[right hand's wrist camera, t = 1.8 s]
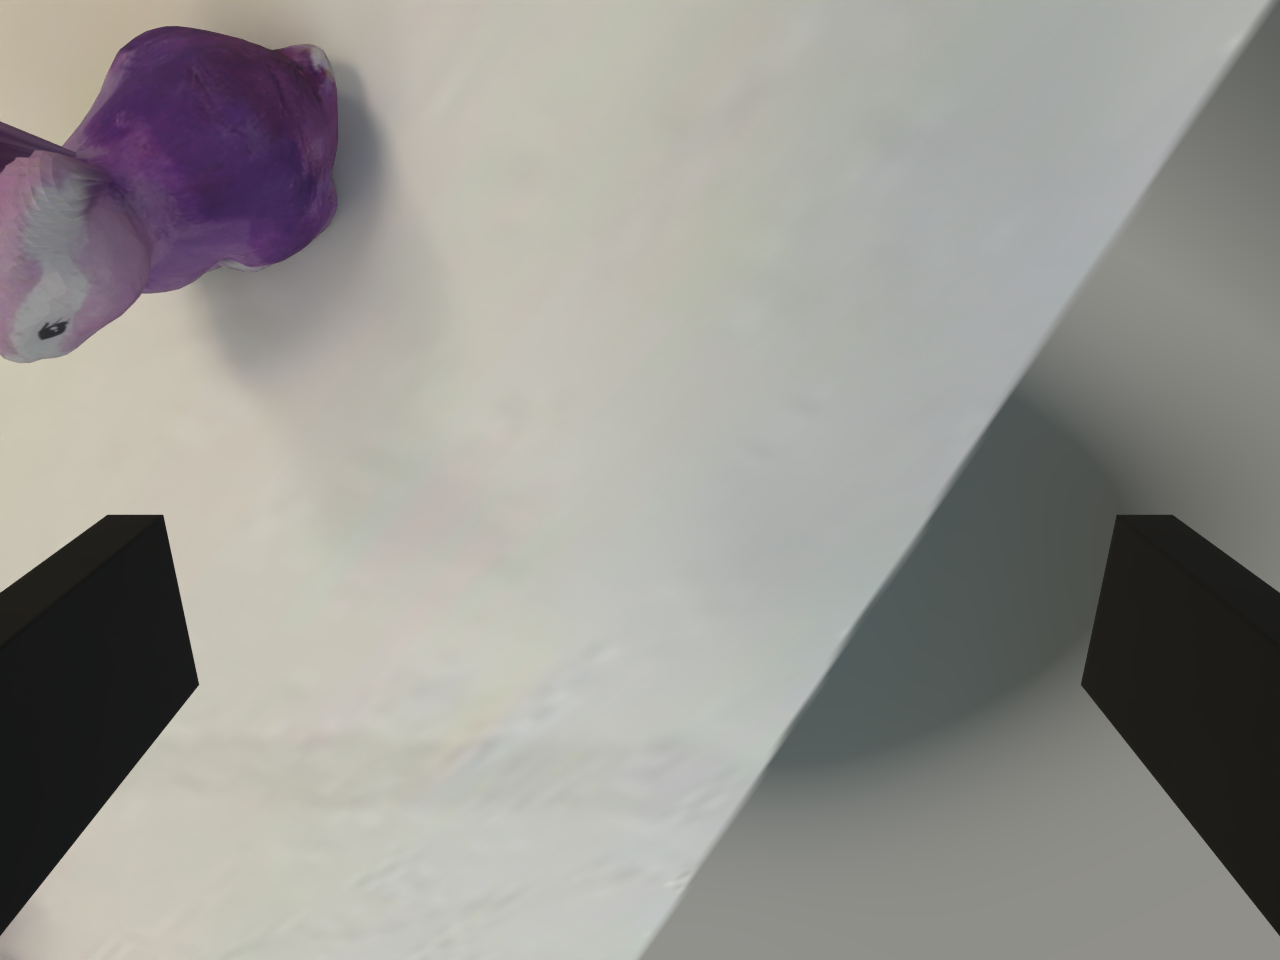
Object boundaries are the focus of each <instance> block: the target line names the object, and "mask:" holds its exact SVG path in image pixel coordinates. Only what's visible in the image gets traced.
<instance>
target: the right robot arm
mask: <svg viewBox="0 0 1280 960" xmlns="http://www.w3.org/2000/svg"><path fill="white" fill-rule="evenodd" d="M198 685H199V682H198V677H197V673H196V668H195V663H194V658H193V654H192V649H191V644H190V640H189V635H188V630H187V625H186V621H185V616H184V611H183V606H182V602H181V597H180V592H179V587H178V583H177V578H176V573H175V568H174V564H173V559H172V554H171V549H170V545H169V540H168V535H167V530H166V526H165V521H164V516H163V515H107V516H105V517H104V518H103V519H101V520H100V521H98V522H97V523H96V524H94V525H93V526H92V527H90V528H89V529H87V530H86V531H85V532H83V533H82V534H81V535H79V536H78V537H76V538H75V539H74V540H72V541H71V542H70V543H68V544H67V545H65V546H64V547H63V548H61V549H60V550H59V551H57V552H56V553H54V554H53V555H52V556H50V557H49V558H48V559H46V560H45V561H43V562H42V563H41V564H39V565H38V566H37V567H35V568H34V569H32V570H31V571H30V572H28V573H27V574H26V575H24V576H23V577H21V578H20V579H19V580H17V581H16V582H15V583H13V584H12V585H10V586H9V587H8V588H6V589H5V590H4V591H2V592H1V593H0V936H1V934H2V933H3V932H4V931H5V929H6V928H7V927H8V925H9V924H10V923H11V922H12V920H13V919H14V918H15V917H16V915H17V914H18V913H19V912H20V910H21V909H22V908H23V907H24V905H25V904H26V903H27V901H28V900H29V899H30V898H31V896H32V895H33V894H34V893H35V891H36V890H37V889H38V888H39V886H40V885H41V884H42V882H43V881H44V880H45V879H46V877H47V876H48V875H49V874H50V872H51V871H52V870H53V869H54V867H55V866H56V865H57V864H58V862H59V861H60V860H61V858H62V857H63V856H64V855H65V853H66V852H67V851H68V850H69V848H70V847H71V846H72V845H73V843H74V842H75V841H76V840H77V838H78V837H79V836H80V834H81V833H82V832H83V831H84V829H85V828H86V827H87V826H88V824H89V823H90V822H91V821H92V819H93V818H94V817H95V816H96V814H97V813H98V812H99V810H100V809H101V808H102V807H103V805H104V804H105V803H106V802H107V800H108V799H109V798H110V797H111V795H112V794H113V793H114V792H115V790H116V789H117V788H118V786H119V785H120V784H121V783H122V781H123V780H124V779H125V778H126V776H127V775H128V774H129V773H130V771H131V770H132V769H133V768H134V766H135V765H136V764H137V762H138V761H139V760H140V759H141V757H142V756H143V755H144V754H145V752H146V751H147V750H148V749H149V747H150V746H151V745H152V744H153V742H154V741H155V740H156V738H157V737H158V736H159V735H160V733H161V732H162V731H163V730H164V728H165V727H166V726H167V725H168V723H169V722H170V721H171V720H172V718H173V717H174V716H175V714H176V713H177V712H178V711H179V709H180V708H181V707H182V706H183V704H184V703H185V702H186V701H187V699H188V698H189V697H190V696H191V694H192V693H193V692H194V690H195V689H196V688H197V687H198ZM1081 685H1082V687H1083V688H1084V689H1085V690H1086V692H1087V693H1088V694H1089V695H1090V697H1091V698H1092V699H1093V701H1094V702H1095V703H1096V704H1097V706H1098V707H1099V708H1100V709H1101V711H1102V712H1103V713H1104V714H1105V716H1106V717H1107V718H1108V719H1109V721H1110V722H1111V723H1112V725H1113V726H1114V727H1115V728H1116V730H1117V731H1118V732H1119V733H1120V735H1121V736H1122V737H1123V738H1124V740H1125V741H1126V742H1127V744H1128V745H1129V746H1130V747H1131V749H1132V750H1133V751H1134V752H1135V754H1136V755H1137V756H1138V757H1139V759H1140V760H1141V761H1142V762H1143V764H1144V765H1145V766H1146V767H1147V769H1148V770H1149V771H1150V772H1151V774H1152V775H1153V776H1154V778H1155V779H1156V780H1157V781H1158V783H1159V784H1160V785H1161V786H1162V788H1163V789H1164V790H1165V792H1166V793H1167V794H1168V795H1169V796H1170V798H1171V799H1172V800H1173V802H1174V803H1175V804H1176V805H1177V807H1178V808H1179V809H1180V810H1181V812H1182V813H1183V814H1184V816H1185V817H1186V818H1187V819H1188V820H1189V822H1190V823H1191V824H1192V826H1193V827H1194V828H1195V829H1196V831H1197V832H1198V833H1199V834H1200V836H1201V837H1202V838H1203V840H1204V841H1205V842H1206V843H1207V845H1208V846H1209V847H1210V848H1211V850H1212V851H1213V852H1214V853H1215V855H1216V856H1217V857H1218V858H1219V860H1220V861H1221V862H1222V863H1223V865H1224V866H1225V867H1226V869H1227V870H1228V871H1229V872H1230V874H1231V875H1232V876H1233V877H1234V879H1235V880H1236V881H1237V882H1238V884H1239V885H1240V886H1241V888H1242V889H1243V890H1244V891H1245V893H1246V894H1247V895H1248V896H1249V898H1250V899H1251V900H1252V901H1253V903H1254V904H1255V905H1256V906H1257V908H1258V909H1259V910H1260V912H1261V913H1262V914H1263V915H1264V916H1265V918H1266V919H1267V920H1268V922H1269V923H1270V924H1271V925H1272V927H1273V928H1274V929H1275V931H1276V932H1277V933H1278V934H1279V936H1280V593H1279V592H1278V591H1276V590H1275V589H1274V588H1272V587H1271V586H1270V585H1268V584H1267V583H1265V582H1264V581H1263V580H1261V579H1260V578H1259V577H1257V576H1256V575H1254V574H1253V573H1252V572H1250V571H1249V570H1248V569H1246V568H1245V567H1243V566H1242V565H1241V564H1239V563H1238V562H1237V561H1235V560H1234V559H1232V558H1231V557H1230V556H1228V555H1227V554H1226V553H1224V552H1223V551H1221V550H1220V549H1219V548H1217V547H1216V546H1215V545H1213V544H1212V543H1210V542H1209V541H1208V540H1206V539H1205V538H1204V537H1202V536H1201V535H1199V534H1198V533H1197V532H1195V531H1194V530H1193V529H1191V528H1190V527H1188V526H1187V525H1186V524H1184V523H1183V522H1182V521H1180V520H1179V519H1177V518H1176V517H1175V516H1173V515H1117V516H1116V521H1115V526H1114V531H1113V535H1112V540H1111V545H1110V549H1109V554H1108V559H1107V564H1106V568H1105V573H1104V578H1103V583H1102V587H1101V592H1100V597H1099V602H1098V606H1097V611H1096V616H1095V621H1094V625H1093V630H1092V635H1091V640H1090V645H1089V649H1088V654H1087V659H1086V663H1085V668H1084V673H1083V678H1082V682H1081Z"/></svg>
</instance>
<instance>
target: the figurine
mask: <svg viewBox="0 0 1280 960" xmlns="http://www.w3.org/2000/svg"><path fill="white" fill-rule="evenodd" d="M337 143H338V115H337V88H336V83H335V78H334V73H333V70H332V67H331V64H330V61H329V59H328V58H327V56H326V54H325V52H324V50H322V49H321V48H319V47H317V46H315V45H308V44H304V45H294V46H289V47H286V48H282V49H277V50H270V49H267V48H264V47H262V46H260V45H257V44H254V43H251V42H248V41H245V40H243V39H239V38H235V37H231V36H227V35H223V34H219V33H215V32H210V31H206V30H200V29H194V28H188V27H180V26H165V27H161V28H156V29H152V30H149V31H146V32H144V33H142V34H141V35H139V36H137V37H135V38H134V39H133V40H131V41H130V42H129V43H128V44H126V45H125V46H124V47H123V48H121V49H120V51H119V52H118V53H117V55H116V57H115V59H114V61H113V63H112V65H111V67H110V69H109V71H108V73H107V76H106V78H105V81H104V83H103V86H102V88H101V91H100V93H99V95H98V97H97V99H96V100H95V102H94V104H93V106H92V107H91V109H90V111H89V112H88V114H87V115H86V117H85V118H84V120H83V121H82V122H81V124H80V125H79V126H78V128H77V129H76V130H75V131H74V133H73V134H72V135H71V136H70V137H69V139H68V140H67V141H66V142H65V143H64V145H63V146H62V147H61V146H59V145H56V144H54V143H51V142H49V141H47V140H44V139H42V138H39V137H37V136H34V135H32V134H29V133H27V132H25V131H22V130H20V129H17V128H15V127H12V126H10V125H8V124H5V123H3V122H0V355H1V356H2V357H3V358H4V359H7V360H10V361H13V362H17V363H31V362H34V361H37V360H41V359H48V358H56V357H61V356H64V355H66V354H68V353H70V352H71V351H73V350H75V349H76V348H78V347H79V346H80V345H81V344H82V343H83V342H84V341H86V340H87V339H88V338H89V337H91V336H92V335H93V334H94V333H96V332H97V331H98V330H100V329H101V328H103V327H104V326H106V325H107V324H109V323H110V322H112V321H113V320H115V319H117V318H118V317H120V316H121V315H122V314H123V313H124V312H125V311H126V310H127V309H128V308H129V307H130V306H131V305H132V304H133V303H134V302H135V301H136V300H137V299H138V298H139V296H140V295H141V293H160V292H167V291H172V290H177V289H180V288H182V287H184V286H186V285H188V284H190V283H192V282H194V281H195V280H197V279H198V278H199V277H201V276H202V275H203V274H204V273H206V272H208V271H211V270H214V269H217V268H219V267H222V266H226V267H229V268H231V269H234V270H238V271H242V272H257V271H259V270H261V269H264V268H266V267H268V266H270V265H272V264H274V263H278V262H281V261H283V260H285V259H287V258H289V257H291V256H292V255H294V254H296V253H297V252H299V251H301V250H302V249H303V248H304V247H306V246H307V245H308V244H309V243H310V242H311V241H312V240H313V239H315V238H316V237H317V236H318V235H319V234H320V233H321V232H322V231H324V230H325V229H326V228H327V227H328V226H329V224H330V222H331V220H332V218H333V216H334V214H335V212H336V209H337V194H336V190H335V186H334V183H333V180H332V178H331V172H332V168H333V165H334V160H335V156H336V150H337Z"/></svg>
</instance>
